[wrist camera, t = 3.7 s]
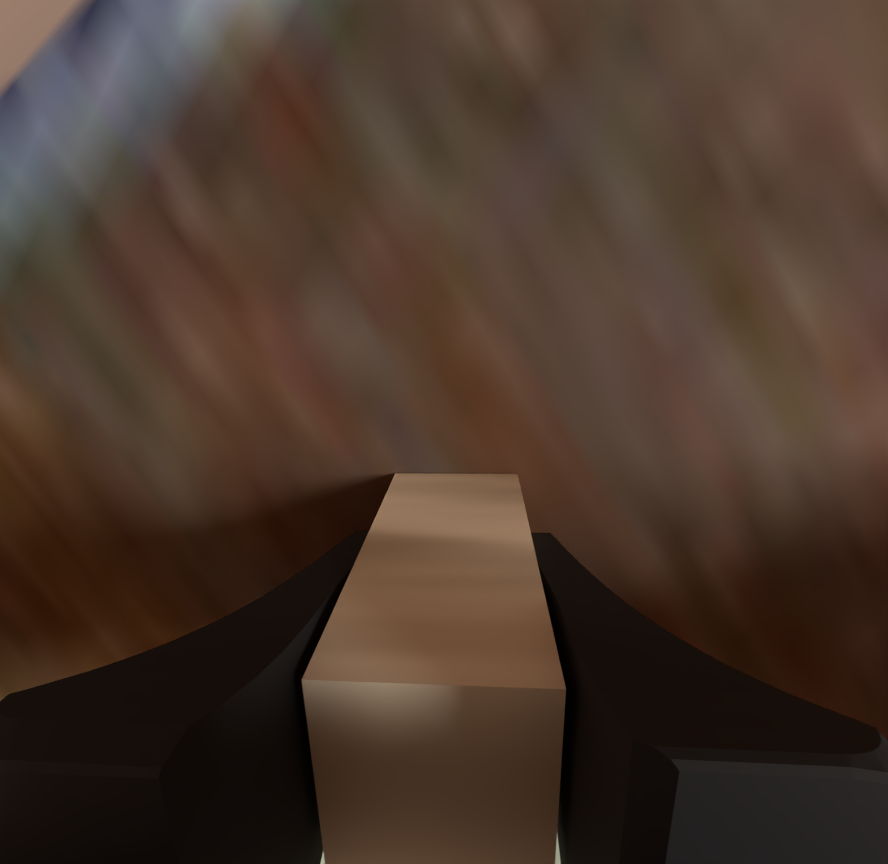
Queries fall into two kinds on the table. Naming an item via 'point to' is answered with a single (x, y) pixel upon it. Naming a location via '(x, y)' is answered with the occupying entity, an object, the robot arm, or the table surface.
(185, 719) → the robot arm
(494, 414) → the table surface
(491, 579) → the wooden block
